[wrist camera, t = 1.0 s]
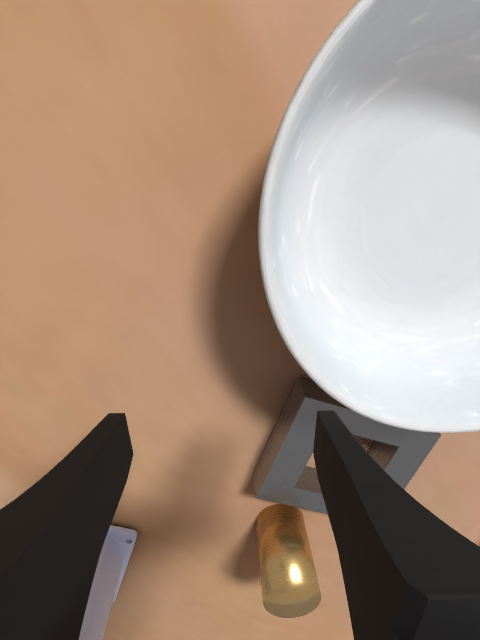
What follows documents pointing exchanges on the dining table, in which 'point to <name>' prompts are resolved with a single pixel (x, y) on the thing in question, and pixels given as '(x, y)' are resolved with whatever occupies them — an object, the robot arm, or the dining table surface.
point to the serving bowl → (383, 215)
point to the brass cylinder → (286, 562)
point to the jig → (298, 442)
